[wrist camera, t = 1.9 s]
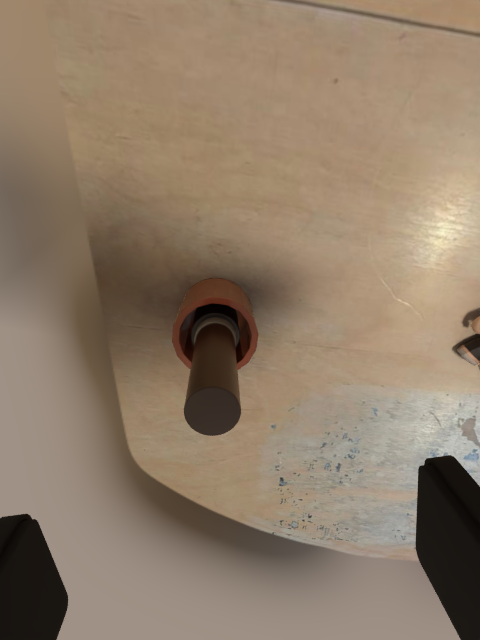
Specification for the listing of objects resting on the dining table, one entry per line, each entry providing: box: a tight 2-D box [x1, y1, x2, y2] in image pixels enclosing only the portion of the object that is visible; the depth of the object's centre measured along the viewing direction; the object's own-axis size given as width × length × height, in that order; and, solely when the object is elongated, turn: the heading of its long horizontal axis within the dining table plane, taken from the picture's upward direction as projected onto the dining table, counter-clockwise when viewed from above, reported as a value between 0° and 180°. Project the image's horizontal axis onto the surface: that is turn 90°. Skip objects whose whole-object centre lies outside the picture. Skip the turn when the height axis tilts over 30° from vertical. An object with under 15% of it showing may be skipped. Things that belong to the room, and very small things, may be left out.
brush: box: [184, 303, 241, 436], centre depth 26 cm, size 4×4×15 cm
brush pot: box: [172, 278, 258, 370], centre depth 31 cm, size 6×6×6 cm
